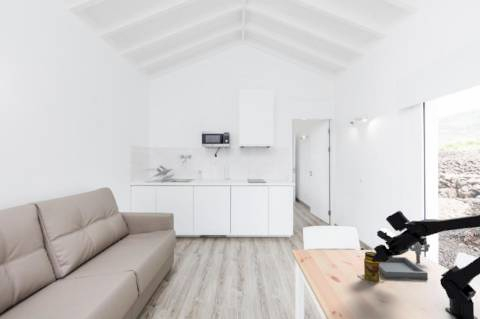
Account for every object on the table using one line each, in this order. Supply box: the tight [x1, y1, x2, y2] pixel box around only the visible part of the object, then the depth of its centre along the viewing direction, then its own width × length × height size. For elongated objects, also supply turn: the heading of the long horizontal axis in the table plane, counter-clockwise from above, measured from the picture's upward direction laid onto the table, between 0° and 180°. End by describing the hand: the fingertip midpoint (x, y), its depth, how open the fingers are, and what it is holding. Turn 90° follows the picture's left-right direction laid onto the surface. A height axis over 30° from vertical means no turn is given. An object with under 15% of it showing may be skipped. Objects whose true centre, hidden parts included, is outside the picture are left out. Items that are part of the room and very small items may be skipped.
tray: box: [379, 256, 429, 280], centre depth 121 cm, size 18×18×3 cm
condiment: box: [358, 251, 385, 285], centre depth 112 cm, size 7×8×12 cm
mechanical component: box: [409, 242, 430, 264], centre depth 129 cm, size 3×10×10 cm, turn 78°
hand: (378, 258), depth 109 cm, fingers open, 9 cm apart
